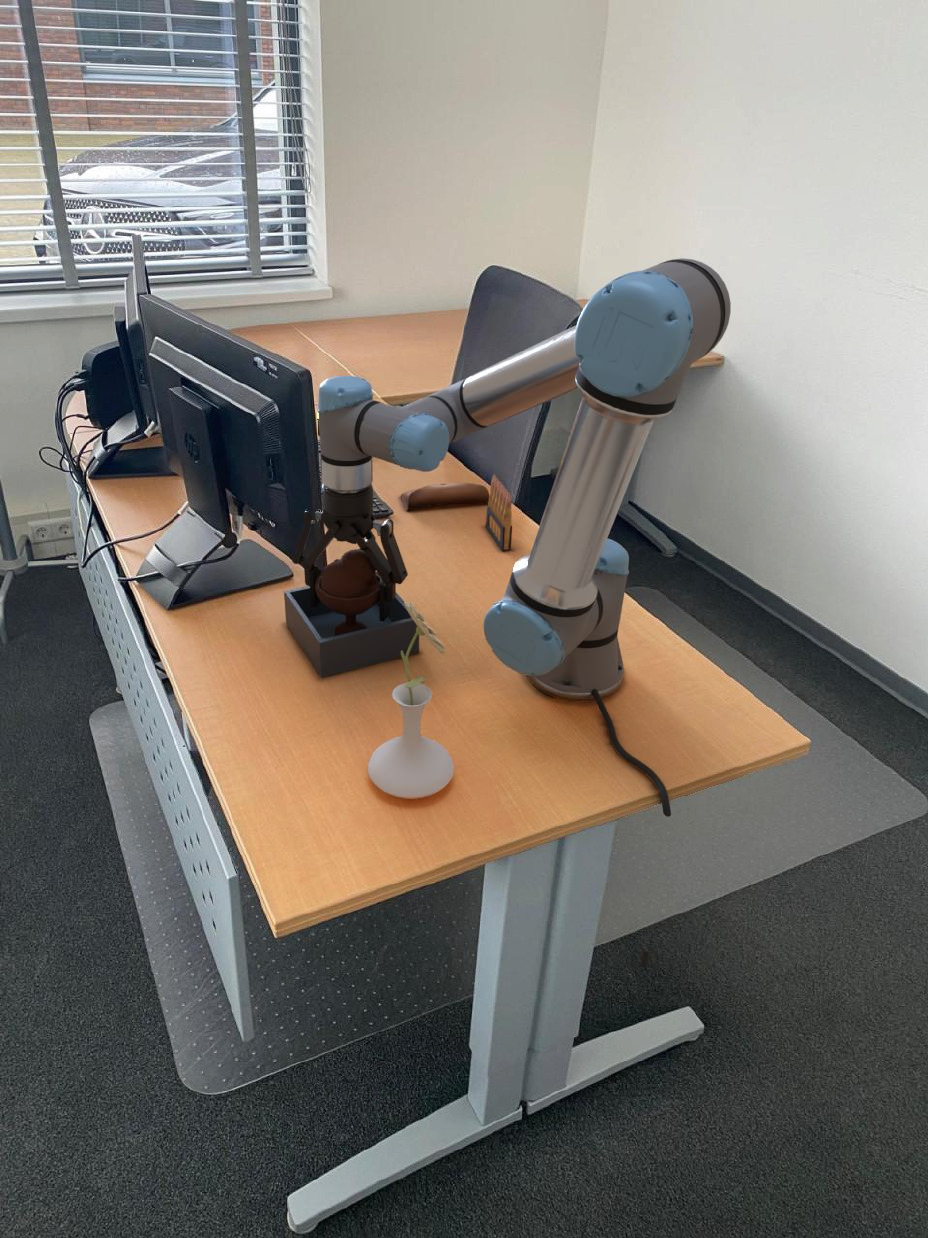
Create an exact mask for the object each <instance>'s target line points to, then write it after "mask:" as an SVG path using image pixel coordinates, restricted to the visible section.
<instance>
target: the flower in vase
mask: <svg viewBox="0 0 928 1238" xmlns="http://www.w3.org/2000/svg"><path fill="white" fill-rule="evenodd" d="M404 604H405V607H406V609H407V611H408V612H409V614H410V616H411V617H412V619H413V620H414V622H415V623H416V625H417V628H416V633H415V635H414V637H413V639H412V641H411V643H410V645H409V648H408V650H407V653H406V656H405V655H404V653H403V651H401V656H402V657H401V659H402V661H403V663H404V669H405V676H406V681H407V682H404V683H401V684H399V685H398V686H396V687H395V688H394V689H393V690H392V694H391V696H392V699H393V700H394V701H395V702H396V703H397V704H398V706H399V708H400V711H401V716H402V725H403V726H402V734H401V735H399V736H396V737H393V738H391V739H389V740H387V741H385V742H384V743H382V744H381V745H379V746H378V747H377V748H376V749H375V750H374V751H373V753H372V755H371V756H370V759H369V760H368V765H367V772H368V777H369V778H370V780H371V781H372V783H373V784H374V785H375V786H376V787H377V788H378V789H379V790H381V791H382V792H383V793H385V794H387V795H389V796H392V797H395V798H400V799H408V800H409V799H410V800H413V799H415V800H417V799H424V798H427V797H430V796H433V795H435V794H437V793H438V792H440V791H441V790H442V789H444V788H445V787H446V786H447V785H448V784H449V783H450V782H451V780H452V778H453V776H454V774H455V773H454V772H455V764H454V761H453V758H452V756H451V754H450V753H449V751H448V750H447V749H446V747H444V746H443V745H442V744H440V743H438V742H437V741H435V740H433V739H431V738H429V737H426V736H422V731H421V725H422V724H421V723H422V715H423V712H424V709H425V706H426V705H427V704H428V703H430V702H431V700H432V698H433V691H432V690H431V688H430V687H428V686H427V685H426V684H423V683H424V682H425V681H426V678H425V677H424V676H418V677H415V678H413V679H412V680H411V679H410V673H409V670H411V665H410V663H409V656H410V655H409V653H410V650H411V648H412V646H413V643H414V641H415V639H416V637H417V636H418V635H419V636H422V637H423V636H424V637H425V638H426V640H427V641H428V642H429V643H430V644H431V646H433V647H434V649H436V651H437V652H438V653H439V654H440V655H442V656H444V655H445V653H446V651H445V648H446V646H445V645H444V643H443V642H442V641H440V640H439V639H438V638H437V637H436V636H437V632H436V631H435V630H434V628H432V627H430V626H428V624H427V623H426V619H425V617H424V615H423V614H422V612H421V611H420V610H419V611H418V610H417V609H416V606H415V605H414V603H413V602H412V601H411V600H410V601H409V602H408V600H406V601H404Z"/></svg>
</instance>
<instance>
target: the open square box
mask: <svg viewBox="0 0 928 1238" xmlns="http://www.w3.org/2000/svg"><path fill="white" fill-rule="evenodd" d="M376 572H377V571H376ZM377 573H378V572H377ZM283 598H284V599H283V600H284V614H285V625H286V627H287V628H288V630H289V631H290V633H291V634H292V636H293V637H294V639H295V640H296V641H297V643H298V645H299V646H300V648H301V649H302V651H303V652H304V654H305V656H306V657H307V658H308V660H309V661H310V663H311V664H312V667H313V668H314V669H315V670H316V672H317V673H318V675H319V677H320V678H327V677H330V676H334V675H338V674H341V673H345V672H349V671H354V670H357V669H361V668H365V667H368V666H372V665H376V664H380V663H384V662H389V661H392V660H396V659H400V658H402V656H401V651H403V653H404V655H405V656H406V653H407V650H408V648H409V645H410V643H411V641H412V639H413V637H414V635H415V633H416V628H417V625H416V623H415V622H414V620H413V619H412V617H411V616H410V614H409V612H408V611H407V609H406V607H405V604H404V602H405V601H404V599H403V598H402V597H401V596H400V594H398V592H396V596H395V598H394V599H393V601H392V602H390V614H389V615H388V617H387V618H386V620H385V621H380V606H379V602H378V603H376V604H375V605H374V606H373V607H371V608H370V609H368V610H367V611H365V612H364V613H362V614H358V615H356V622H361V623H362V624H364V625H365V626H366V627H367V629H363V630H359V631H354V632H350V633H346V634H342V635H338V636H335V629H336V627H337V626H338V625H339V624H341V623H342V622H346V616H345V615H342V614H338V613H335V612H334V611H332V610H331V609H330V608H329V607H327V606H326V605H325V604H324V603H322V602H321V601H320V602H319V604H318V605H317V606H316V607H311V597H310V586H307V585H305V586H302V587H297V588H293V589H288V590H284V591H283ZM419 653H420V635H418V636H417V637H416V639H415V641H414V643H413V646H412V648H411V650H410V653H409V655H408V656H410V655H415V654H419Z"/></svg>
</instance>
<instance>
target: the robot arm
mask: <svg viewBox="0 0 928 1238" xmlns="http://www.w3.org/2000/svg"><path fill="white" fill-rule="evenodd" d="M727 287H728V286H727V285H726V282H724V280H723V279H722V277H721V276H720V274H719V273H718V272H717V271H715V269H713V268H712V267H711V266H709V265H708V264H706V263H704V262H702V261H699V260H696V259H691V258H684V257H683V258H673V259H669V260H666V261H665V260H664V261H663V262H660V263H658V264H655V265H653V266H650V267H648V268H645V269H643V270H637V271H631V272H627V273H624V274H622V275H620V276H618V277H616V278H614V279H612V281H610V282H609V283H607V284H606V285H604V286H603V287H601V288H599V290H598V291H597V292H595V294H594V295H592V296H591V297H590V298H589V300H588V301H587V303H586V304H585V306H584V307H583V309H582V311H581V313H580V315H579V317H578V319H577V323H576V325H574V326H572V327H569V328H567V329H566V330H565V329H564V330H563V331H561V332H559V333H557V334H555V335H553V336H550V337H549V338H547V339H544V340H542V341H541V342H538V343H536V344H535V345H532V346H530V347H528V348H526V349H524V350H522V351H520V352H518V353H515V354H513V355H511V356H509V357H507V358H505V359H503V360H501V361H499V362H497V363H495V364H493V365H491V366H489V367H486V368H484V369H483V370H480V371H478V372H476V373H474V374H472V375H470V376H468V377H466V378H464V379H460V380H459V381H457V382H455V383H452V384H451V385H448V386H447V387H445V388H442V389H440V390H438V391H435V392H433V393H432V394H429V395H426V396H424V397H422V398H420V399H417V400H415V401H413V402H410V403H408V404H406V405H404V406H396V405H392V404H387V403H384V402H381V401H378V400H376V399H373V398H374V393H373V388H372V387H373V386H372V384H371V382H369V381H368V380H366V379H365V378H364V377H360V376H355V375H354V376H353V375H338V376H333V377H329V378H327V379H325V380H323V381H322V382H321V383H320V385H319V387H318V400H317V401H318V403H317V404H318V407H317V410H316V412H318V417H319V429H320V434H319V441H320V442H319V444H320V481H321V484H322V486H321V499H322V500H321V503H322V509H319V510H320V512H319V511H316V512H315V517H316V520H317V523H318V521H319V519H320V521H322V523H323V524H324V526H325V527H326V528H327V531H326V532H325V534H324V535H323V536H322V537H321V539H320V540H319V542H318V543H317V545H316V546H315V547H314V549H313V550H312V552H311V553H310V554H309V555H308V556H309V557H308V558H306V557H303V556H302V554H303V552H304V550H305V546H306V542H307V539H308V536H309V533H310V530H311V524H314V523H315V520H312V516H311V513H310V512H309V511H306V510H305V511H304V512H303V515H302V520H303V526H302V529H301V531H300V535H299V537H298V540H297V544H296V546H295V550H294V552H293V555H292V558H291V561H292V563H293V564H294V565H300V566H302V568H303V573H304V574H303V575H304V584H305V586H310V597H311V607H316V606H317V605H318V604H319V602H320V599H319V598H318V596H317V593H316V590H315V584H316V578H317V576H319V575H320V573H321V574H322V569H321V570H319V569H318V567H315V566H314V562H315V561H316V560H317V559H319V558H320V557H321V556H322V554H323V553H324V552H325V550H326V549H327V548H328V546H329V545H330V544H331V543H332V541H333V540H334V539H336V542H342V543H343V542H346V543H349V544H350V545H351V544H352V545H357V546H358V547H359V548H358V549H361V550H363V551H364V552H365V554H366V555H367V557H368V558H369V560H370V561H371V563H372V565H373V566H374V568H375V569H376V572H378V574H379V576H380V577H381V579H382V580H383V581H382V582H381V584H380V585H379V606H380V621H385V620H386V618H387V617H388V615H389V614H390V602H392V601H393V599H394V598H395V596H396V593H397V592H396V590H397V589H396V588H397V585H402V584H403V582H404V581H405V580H406V578H407V577H408V576H409V575H408V574H409V573H408V570H407V567H406V565H405V562H404V559H403V556H402V553H401V550H400V547H399V545H398V542H397V539H396V536H395V533H394V521H393V519H391V518H388V519H386V520H385V521H384V520H379V519H376V517H375V515H374V513H373V512H374V511H373V510H374V486H373V484H372V483H373V481H374V480H373V478H374V477H373V476H374V475H373V470H374V469H373V467H374V466H373V458H375V459H378V460H382V461H385V462H387V463H390V464H393V465H396V466H399V467H400V468H403V469H408V470H415V471H418V472H423V473H428V472H432V471H434V470H436V469H437V468H438V467H440V464H441V461H444V460H445V458H446V456H447V453H448V451H449V445H450V444H453V443H455V442H457V441H459V440H461V439H463V438H465V437H468V436H470V435H472V434H475V433H478V432H479V431H482V430H485V429H486V428H488V427H491V426H492V425H496V424H497V423H499V422H502V421H505V420H507V419H510V418H512V417H515V416H516V415H519V414H522V413H524V412H526V411H528V410H531V409H533V408H536V407H538V406H540V405H543V404H545V403H548V402H550V401H553V400H555V399H557V398H560V397H563V396H565V395H567V394H569V393H572V392H574V391H577V390H579V392H580V393H581V395H582V398H581V401H580V404H579V406H578V411H577V413H576V416H575V419H574V422H573V425H572V428H571V431H570V434H569V437H568V440H567V442H566V446H565V449H564V452H563V455H562V457H561V460H560V463H559V467H558V470H557V473H556V476H555V478H554V481H553V484H552V487H551V491H550V494H549V497H548V500H547V503H546V506H545V509H544V512H543V515H542V518H541V521H540V524H539V527H538V528H537V529H538V530H537V533H536V535H535V538H534V542H533V545H532V547H531V550H530V553H529V554H526V555H523V556H521V557H520V558H519V559H518V560H517V561H515V564H514V566H513V568H512V571H511V574H510V577H509V580H508V583H507V586H506V589H505V592H504V594H503V596H502V598H501V599H500V600H497V601H495V602H494V603H493V604H492V605H491V607H490V608H489V609H488V611H487V612H486V614H485V616H484V619H483V620H484V621H483V633H484V637H485V641H486V642H487V644H488V646H489V647H490V648H491V651H492V653H493V654H494V655H495V657H496V658H497V659H498V660H499V661H500V662H501V663H502V664H503V665H505V666H506V667H507V668H509V669H511V670H512V671H514V672H516V673H518V674H521V675H524V676H526V678H527V679H528V680H529V681H530V683H531V684H532V686H534V687H535V688H536V689H538V690H539V691H541V692H542V693H544V694H546V695H548V696H550V697H553V698H556V699H559V700H564V701H569V702H579V703H580V702H585V703H586V702H595V703H596V705H597V708H598V709H599V712H600V714H601V716H602V718H603V720H604V722H605V725H606V728H607V732H608V736H609V739H610V742H611V744H612V746H613V748H614V749H615V751H616V752H617V753H618V754H619V755H620V756H621V757H622V758H623V759H624V760H625V761H627V762H628V763H629V764H631V765H632V766H634V767H635V768H637V769H638V770H640V771H642V772H643V773H644V774H645V775H647V777H649V779H651V781H652V782H653V783H654V785H655V787H656V788H657V790H658V793H659V797H660V802H661V806H662V813H663V815H664V816H665V817H667V818H669V817H671V816H672V811H671V803H670V799H669V793H668V791H667V788H666V786H665V784H664V782H663V781H662V780H661V778H660V777H659V776H658V775H657V773H656V772H655V771H654V770H653V769H652V768H650V767H649V766H648V765H646V764H645V763H644V762H642V761H641V760H639V759H638V758H637V757H635V756H633V755H631V753H629V752H628V751H627V750H626V749H625V748H624V747H623V746H622V745H621V743H620V741H619V739H618V736H617V733H616V728H615V725H614V723H613V720H612V717H611V715H610V713H609V711H608V709H607V707H606V705H605V703H604V701H603V699H605V698H608V697H611V695H613V694H615V693H616V692H617V691H618V689H620V688H621V685H622V684H623V678H624V672H625V667H624V661H623V657H622V652H621V646H620V642H619V638H618V637H619V636H618V635H619V627H620V623H621V616H622V611H623V604H624V597H625V593H626V586H627V580H628V575H629V574H630V571H629V563H630V557H629V555H630V554H629V552H628V551H627V550H626V548H624V546H622V545H621V544H620V543H618V541H615V540H613V539H611V538H608V537H609V535H610V532H611V529H612V528H613V525H614V522H615V520H616V518H617V514H618V512H619V510H620V507H621V505H622V502H623V499H624V496H625V494H626V493H627V489H628V487H629V484H630V482H631V479H632V476H633V474H634V471H635V469H636V466H637V463H638V461H639V459H640V456H641V455H642V452H643V449H644V447H645V445H646V444H645V443H646V441H647V438H648V436H649V433H650V431H651V428H652V427H653V424H654V421H656V420H658V419H660V418H662V417H666V416H667V415H669V414H671V413H672V411H673V409H674V408H675V404H676V402H677V399H678V398H679V395H680V392H681V390H682V388H683V385H684V383H685V380H686V378H687V375H688V374H689V371H690V369H691V366H692V365H693V364H694V363H696V362H698V361H699V360H701V359H702V358H704V357H705V356H707V355H708V354H709V353H710V352H711V351H713V350H714V349H715V348H716V347H717V345H718V344H719V343H720V342H721V340H722V339H723V337H724V335H725V333H726V331H727V329H728V326H729V324H730V319H731V318H730V317H731V310H732V309H731V308H732V307H731V305H732V303H731V297H730V293H729V290H728V288H727ZM321 510H322V512H321ZM320 521H319V522H320ZM373 529H374V530H375V531H376V534H377V536H378V537H380V538H379V539H380V543H381V547H382V548H383V550H382V549H381V548H380V546H379V544H378V542H377V540H376V536H375V534H374V533H373V531H372V530H373ZM323 551H324V552H323ZM322 552H323V553H322ZM320 555H321V556H320ZM319 556H320V557H319ZM318 557H319V558H318ZM317 561H318V560H317ZM317 561H316V562H317ZM316 562H315V563H316ZM650 953H651V951H642V953H641V958H640V963H639V966H640V967H641V968H642V969H646V968H647V967H648V962H649V957H650Z"/></svg>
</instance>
